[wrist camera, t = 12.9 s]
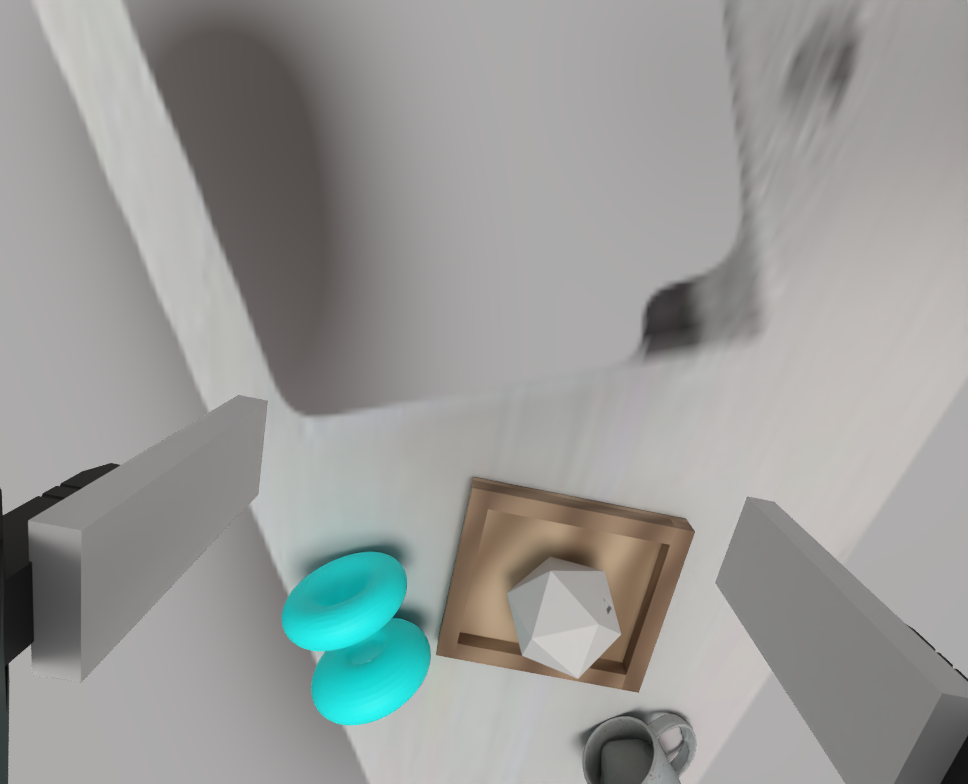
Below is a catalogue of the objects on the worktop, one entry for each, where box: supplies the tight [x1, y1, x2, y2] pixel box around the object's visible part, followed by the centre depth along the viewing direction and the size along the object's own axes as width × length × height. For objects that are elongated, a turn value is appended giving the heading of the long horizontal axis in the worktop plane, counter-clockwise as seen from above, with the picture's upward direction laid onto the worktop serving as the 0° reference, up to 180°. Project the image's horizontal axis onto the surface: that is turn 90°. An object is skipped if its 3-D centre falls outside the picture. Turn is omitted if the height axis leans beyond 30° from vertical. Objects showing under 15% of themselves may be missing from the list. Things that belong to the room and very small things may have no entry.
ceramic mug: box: [583, 714, 697, 784], centre depth 49 cm, size 10×8×7 cm
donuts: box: [282, 552, 431, 725], centre depth 44 cm, size 10×10×10 cm
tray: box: [436, 477, 695, 693], centre depth 47 cm, size 19×17×2 cm
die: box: [507, 556, 621, 679], centre depth 44 cm, size 8×9×10 cm
